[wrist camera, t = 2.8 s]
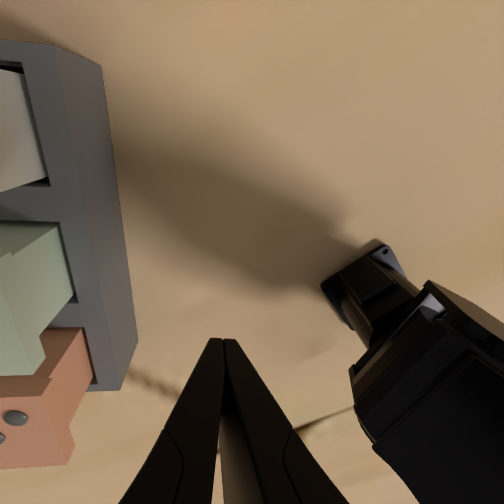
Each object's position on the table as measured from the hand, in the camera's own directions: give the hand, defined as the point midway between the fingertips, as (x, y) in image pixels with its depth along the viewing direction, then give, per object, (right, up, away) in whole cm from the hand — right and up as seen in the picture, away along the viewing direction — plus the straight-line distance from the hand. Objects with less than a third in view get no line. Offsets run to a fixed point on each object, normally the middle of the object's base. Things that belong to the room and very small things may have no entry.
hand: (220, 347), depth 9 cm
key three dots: (-13, -3, +11) cm, 17 cm away
